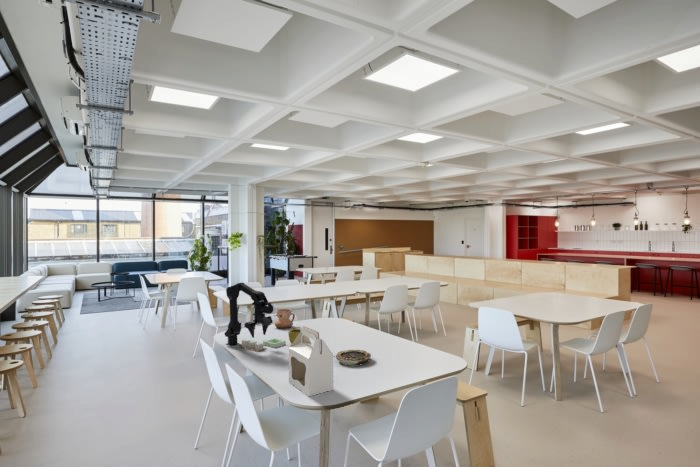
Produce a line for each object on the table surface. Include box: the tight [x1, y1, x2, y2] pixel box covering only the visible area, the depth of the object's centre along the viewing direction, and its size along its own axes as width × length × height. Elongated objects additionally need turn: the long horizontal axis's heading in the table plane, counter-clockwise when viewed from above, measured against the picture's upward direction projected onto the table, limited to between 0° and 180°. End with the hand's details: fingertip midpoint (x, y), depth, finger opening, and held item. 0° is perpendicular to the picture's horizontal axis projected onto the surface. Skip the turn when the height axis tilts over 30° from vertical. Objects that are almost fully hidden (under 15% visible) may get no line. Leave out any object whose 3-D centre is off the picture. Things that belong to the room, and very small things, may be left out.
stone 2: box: [255, 342, 264, 351], centre depth 252 cm, size 4×4×4 cm
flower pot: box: [288, 328, 301, 345], centre depth 268 cm, size 9×9×9 cm
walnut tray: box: [237, 344, 268, 353], centre depth 256 cm, size 20×8×1 cm, turn 53°
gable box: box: [288, 325, 334, 397], centre depth 191 cm, size 22×13×28 cm, turn 34°
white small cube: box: [248, 340, 258, 349], centre depth 256 cm, size 4×4×4 cm
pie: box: [333, 349, 372, 367], centre depth 230 cm, size 28×27×5 cm
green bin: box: [262, 338, 286, 349], centre depth 264 cm, size 12×10×3 cm
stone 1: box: [241, 338, 251, 348], centre depth 260 cm, size 4×4×4 cm
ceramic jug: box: [273, 308, 295, 329], centre depth 317 cm, size 18×14×14 cm
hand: (258, 336), depth 252 cm, fingers open, 9 cm apart
